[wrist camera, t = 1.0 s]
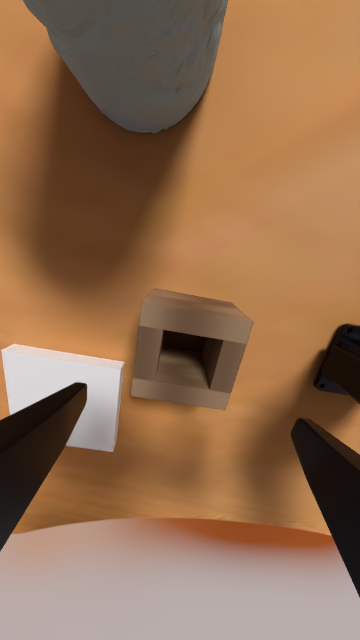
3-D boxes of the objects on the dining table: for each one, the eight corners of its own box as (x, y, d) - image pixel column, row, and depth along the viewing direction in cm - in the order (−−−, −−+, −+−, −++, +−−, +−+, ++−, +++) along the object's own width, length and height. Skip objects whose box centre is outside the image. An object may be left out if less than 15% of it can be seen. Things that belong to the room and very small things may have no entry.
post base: (124, 361, 17) (98, 409, 12) (116, 441, 20) (92, 508, 15) (13, 343, 17) (-68, 384, 11) (23, 427, 20) (-38, 491, 14)
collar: (231, 302, 15) (253, 321, 10) (213, 368, 17) (225, 410, 12) (154, 288, 15) (141, 301, 10) (145, 357, 17) (130, 395, 12)
